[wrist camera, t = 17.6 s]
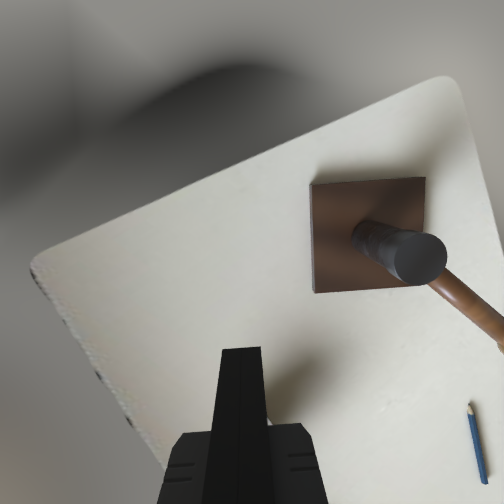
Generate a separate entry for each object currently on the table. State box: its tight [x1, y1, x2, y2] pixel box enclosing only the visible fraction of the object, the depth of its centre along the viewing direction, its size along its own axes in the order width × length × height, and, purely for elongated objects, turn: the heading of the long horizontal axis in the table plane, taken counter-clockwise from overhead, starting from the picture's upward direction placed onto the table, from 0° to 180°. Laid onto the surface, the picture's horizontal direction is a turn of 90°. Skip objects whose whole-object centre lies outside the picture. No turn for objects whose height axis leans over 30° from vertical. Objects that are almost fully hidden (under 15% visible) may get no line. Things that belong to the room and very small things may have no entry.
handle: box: [383, 230, 504, 354], centre depth 30 cm, size 18×5×3 cm, turn 52°
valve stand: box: [309, 177, 426, 293], centre depth 36 cm, size 14×14×11 cm
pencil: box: [467, 404, 488, 485], centre depth 48 cm, size 1×1×15 cm
